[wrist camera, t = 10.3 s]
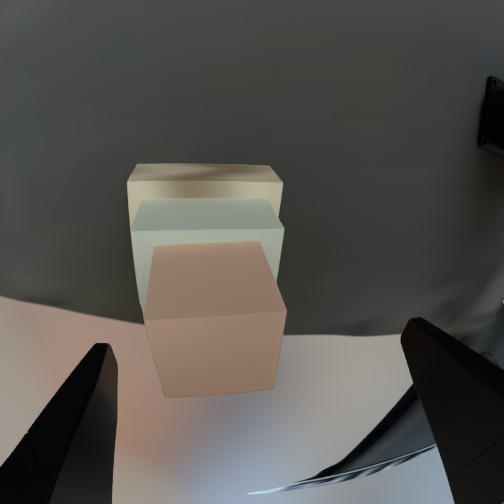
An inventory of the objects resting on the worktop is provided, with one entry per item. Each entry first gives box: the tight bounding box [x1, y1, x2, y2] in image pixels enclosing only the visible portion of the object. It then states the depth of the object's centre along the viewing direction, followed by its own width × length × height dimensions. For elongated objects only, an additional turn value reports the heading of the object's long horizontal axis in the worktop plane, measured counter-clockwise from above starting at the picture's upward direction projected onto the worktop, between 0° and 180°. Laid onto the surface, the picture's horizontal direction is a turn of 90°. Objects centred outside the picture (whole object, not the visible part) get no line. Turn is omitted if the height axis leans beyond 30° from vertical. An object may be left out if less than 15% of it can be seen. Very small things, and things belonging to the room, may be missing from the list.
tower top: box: [131, 198, 284, 341], centre depth 16 cm, size 6×6×4 cm
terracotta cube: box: [144, 241, 287, 398], centre depth 13 cm, size 4×4×4 cm
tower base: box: [127, 163, 283, 305], centre depth 19 cm, size 8×8×4 cm
